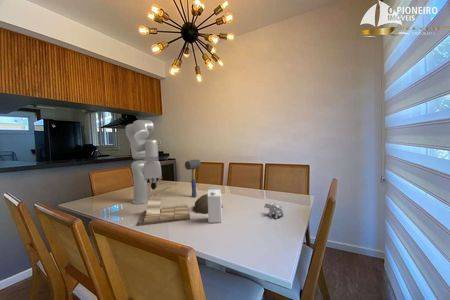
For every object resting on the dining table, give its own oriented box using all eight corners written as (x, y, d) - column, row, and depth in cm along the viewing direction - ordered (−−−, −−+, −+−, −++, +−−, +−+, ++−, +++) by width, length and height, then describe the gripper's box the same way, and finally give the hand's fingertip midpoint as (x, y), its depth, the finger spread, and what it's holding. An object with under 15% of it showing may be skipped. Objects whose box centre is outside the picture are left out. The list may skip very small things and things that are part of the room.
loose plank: (148, 200, 132) (148, 199, 131) (160, 199, 134) (160, 197, 133) (146, 216, 122) (146, 215, 121) (159, 215, 123) (159, 213, 122)
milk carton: (209, 218, 122) (208, 186, 121) (221, 217, 122) (220, 185, 121) (208, 223, 115) (207, 189, 114) (221, 222, 115) (220, 188, 113)
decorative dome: (203, 202, 152) (203, 189, 151) (227, 206, 142) (227, 192, 141) (187, 211, 135) (186, 196, 134) (212, 216, 125) (212, 199, 125)
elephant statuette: (280, 220, 116) (280, 207, 115) (260, 216, 122) (260, 203, 121) (284, 215, 124) (285, 202, 123) (265, 211, 130) (265, 199, 129)
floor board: (144, 213, 133) (143, 208, 133) (188, 208, 140) (188, 204, 139) (138, 225, 114) (138, 220, 114) (190, 219, 120) (189, 214, 120)
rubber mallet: (191, 199, 160) (190, 160, 158) (185, 198, 164) (183, 160, 163) (202, 195, 170) (201, 159, 168) (196, 194, 174) (195, 158, 173)
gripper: (138, 161, 123) (139, 191, 123) (164, 159, 126) (165, 189, 127) (140, 160, 130) (142, 189, 131) (165, 158, 133) (166, 186, 134)
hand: (153, 189), depth 129 cm, fingers closed
